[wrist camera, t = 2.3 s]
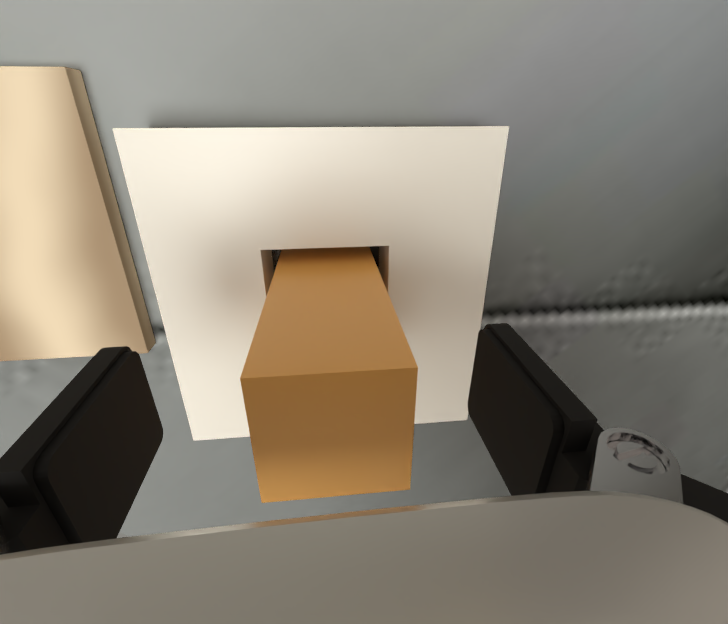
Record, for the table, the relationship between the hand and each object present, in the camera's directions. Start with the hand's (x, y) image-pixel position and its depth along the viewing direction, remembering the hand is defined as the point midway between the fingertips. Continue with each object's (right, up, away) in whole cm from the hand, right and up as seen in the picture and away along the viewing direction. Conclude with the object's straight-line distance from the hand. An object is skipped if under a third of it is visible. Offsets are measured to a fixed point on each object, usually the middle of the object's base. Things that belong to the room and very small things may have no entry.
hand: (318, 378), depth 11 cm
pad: (-16, +5, +6) cm, 17 cm away
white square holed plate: (-1, +3, +9) cm, 9 cm away
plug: (-1, +3, +9) cm, 9 cm away
